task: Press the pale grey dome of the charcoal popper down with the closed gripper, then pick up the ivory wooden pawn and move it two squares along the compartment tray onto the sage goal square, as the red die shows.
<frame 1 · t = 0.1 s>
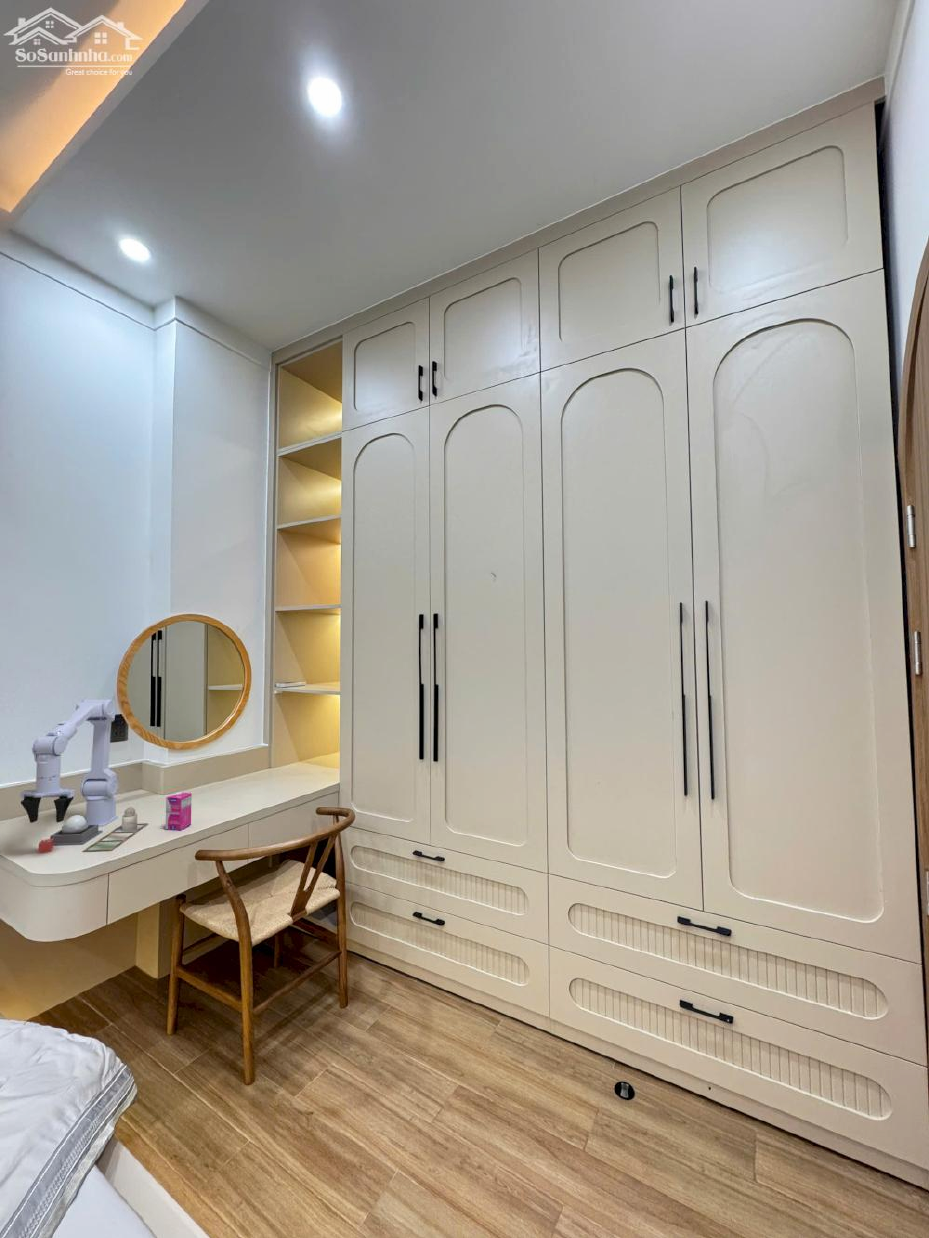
hand: (47, 821, 158), 10 cm above the table, tool pointing down, fingers open, 7 cm apart
popper base: (74, 839, 170), on the table
dome: (75, 824, 171), point 5 cm above the table, slide at 0.0 cm
supplement box: (178, 828, 181), on the table
red die: (46, 850, 161), on the table
compartment tray: (117, 837, 172), on the table
pawn: (129, 828, 179), resting on compartment tray
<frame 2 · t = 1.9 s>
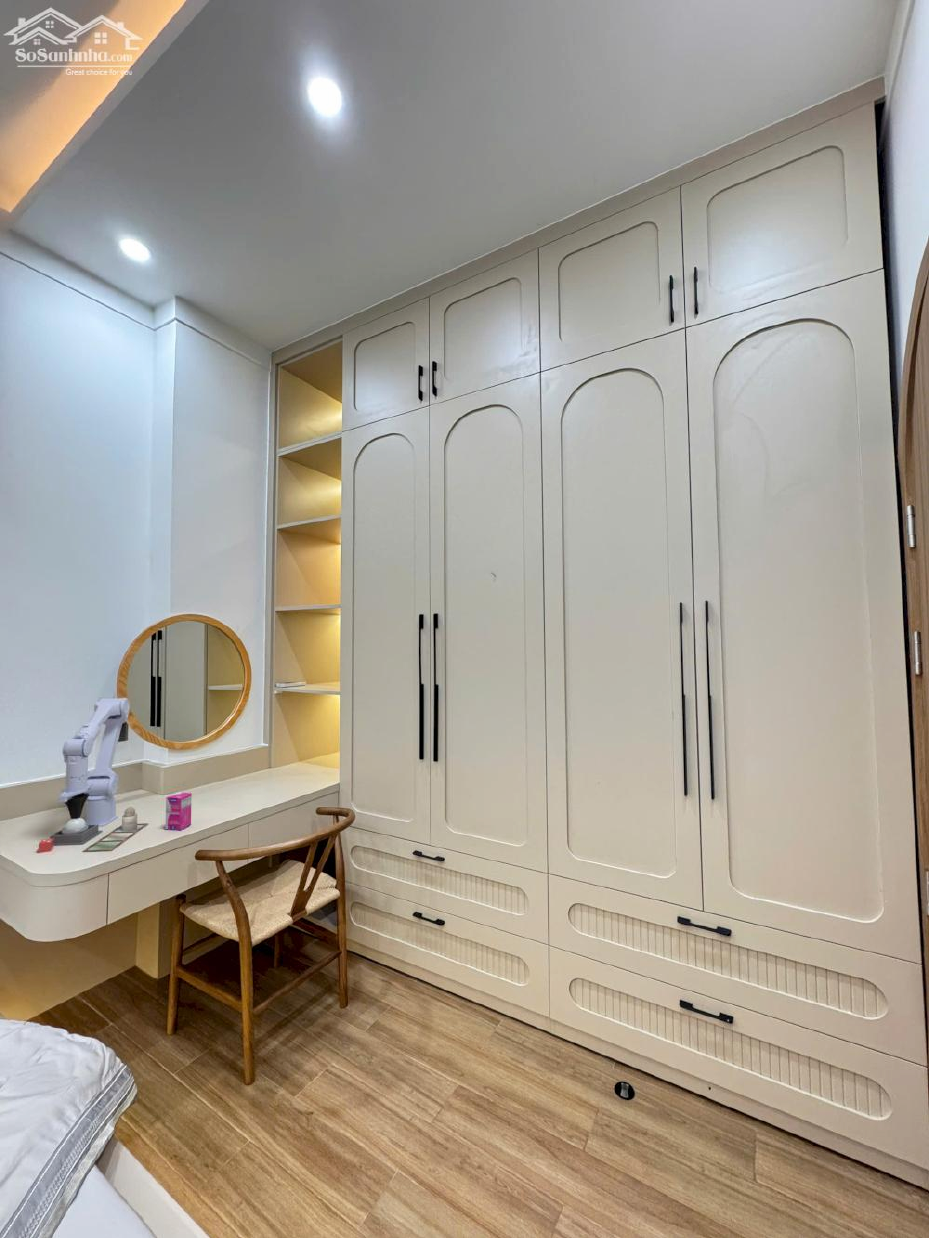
hand: (75, 818, 171), 7 cm above the table, tool pointing down, fingers closed, pressing on dome
dome: (75, 826, 171), point 4 cm above the table, slide at 0.7 cm, touching gripper
everything else where it was.
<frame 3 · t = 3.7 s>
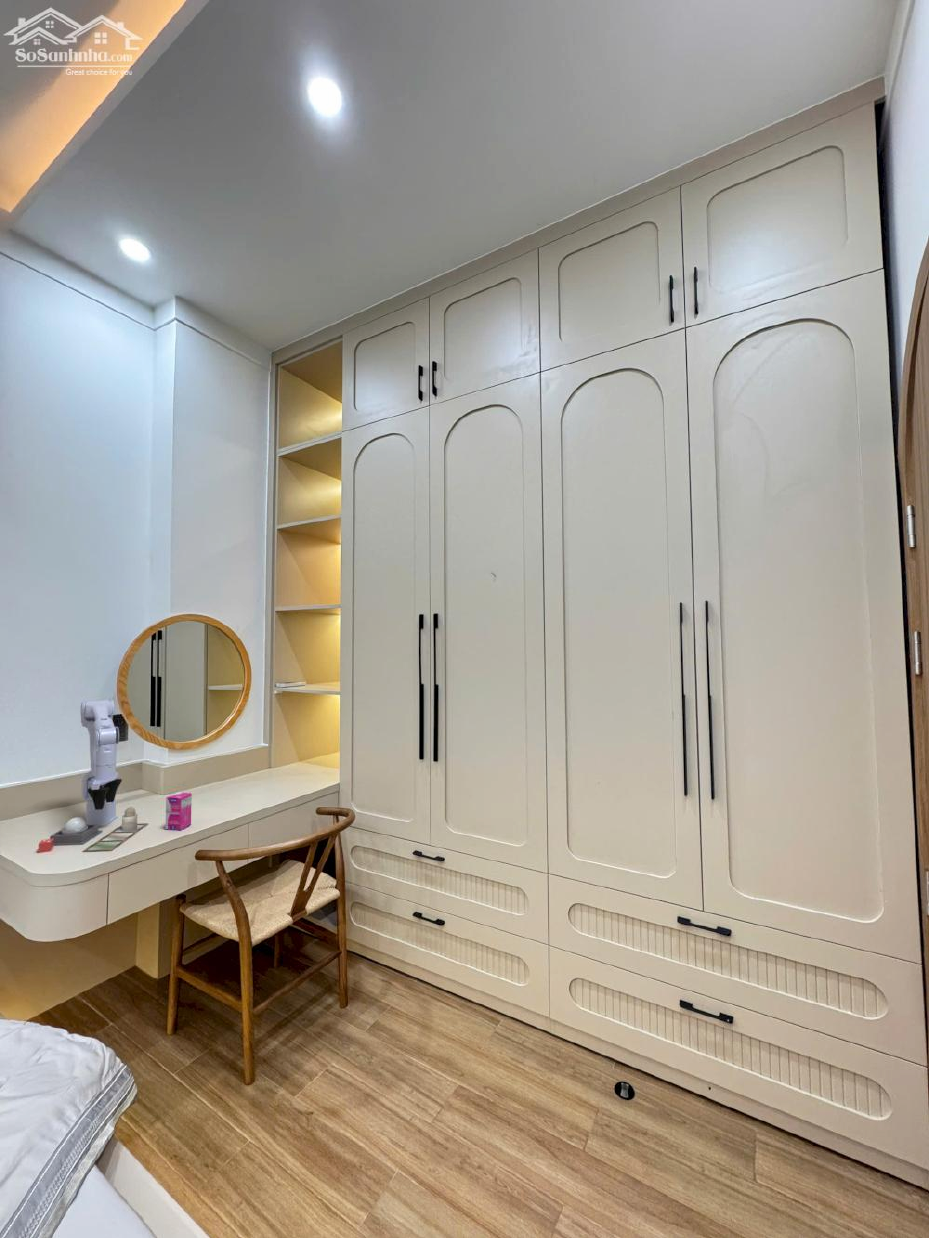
hand: (104, 805, 175), 9 cm above the table, tool pointing down, fingers open, 7 cm apart
dome: (75, 826, 171), point 4 cm above the table, slide at 0.7 cm
everything else where it was.
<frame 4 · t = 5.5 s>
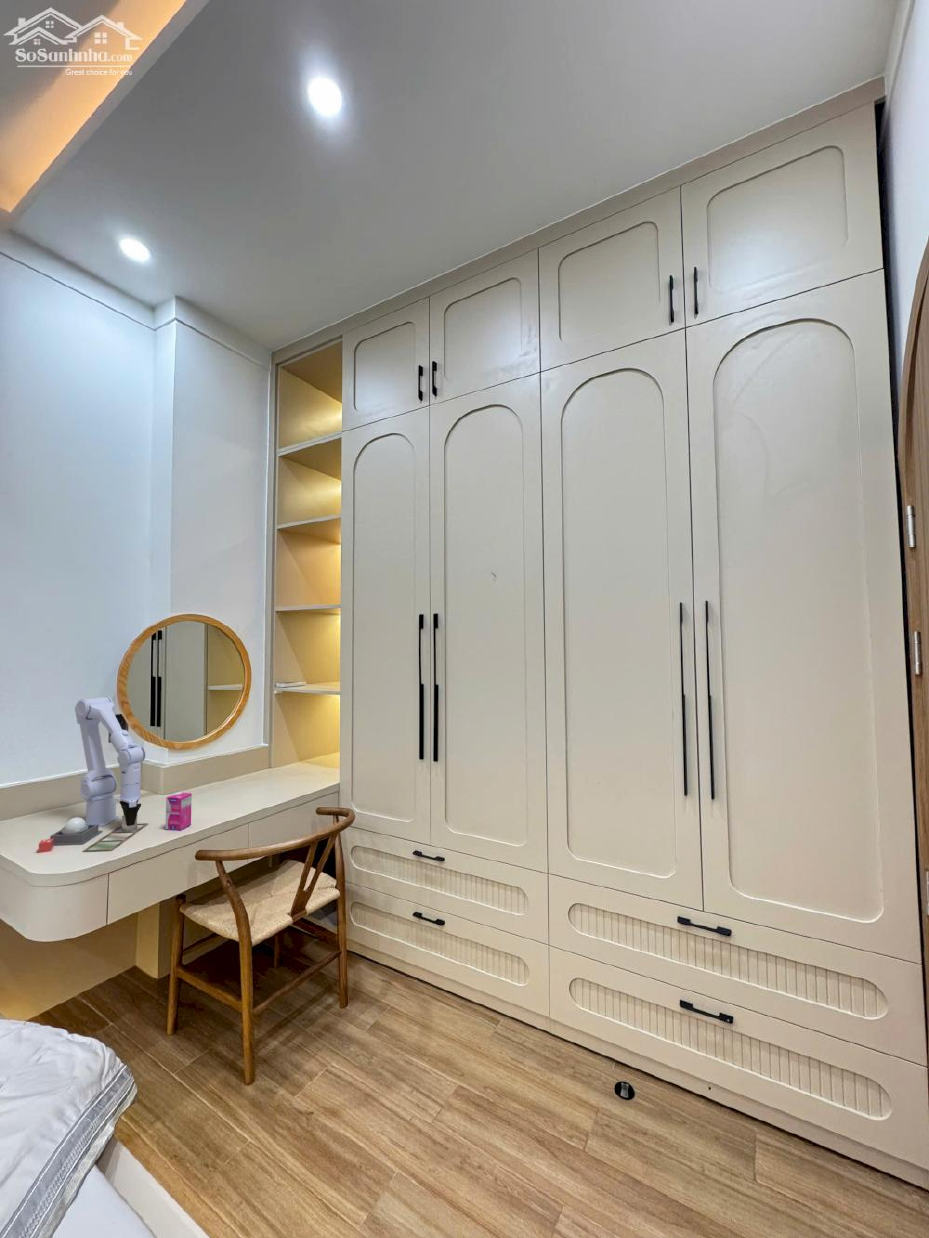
hand: (129, 823, 179), 2 cm above the table, tool pointing down, fingers closed on pawn, 4 cm apart
pawn: (129, 828, 179), resting on compartment tray, touching gripper
everything else where it was.
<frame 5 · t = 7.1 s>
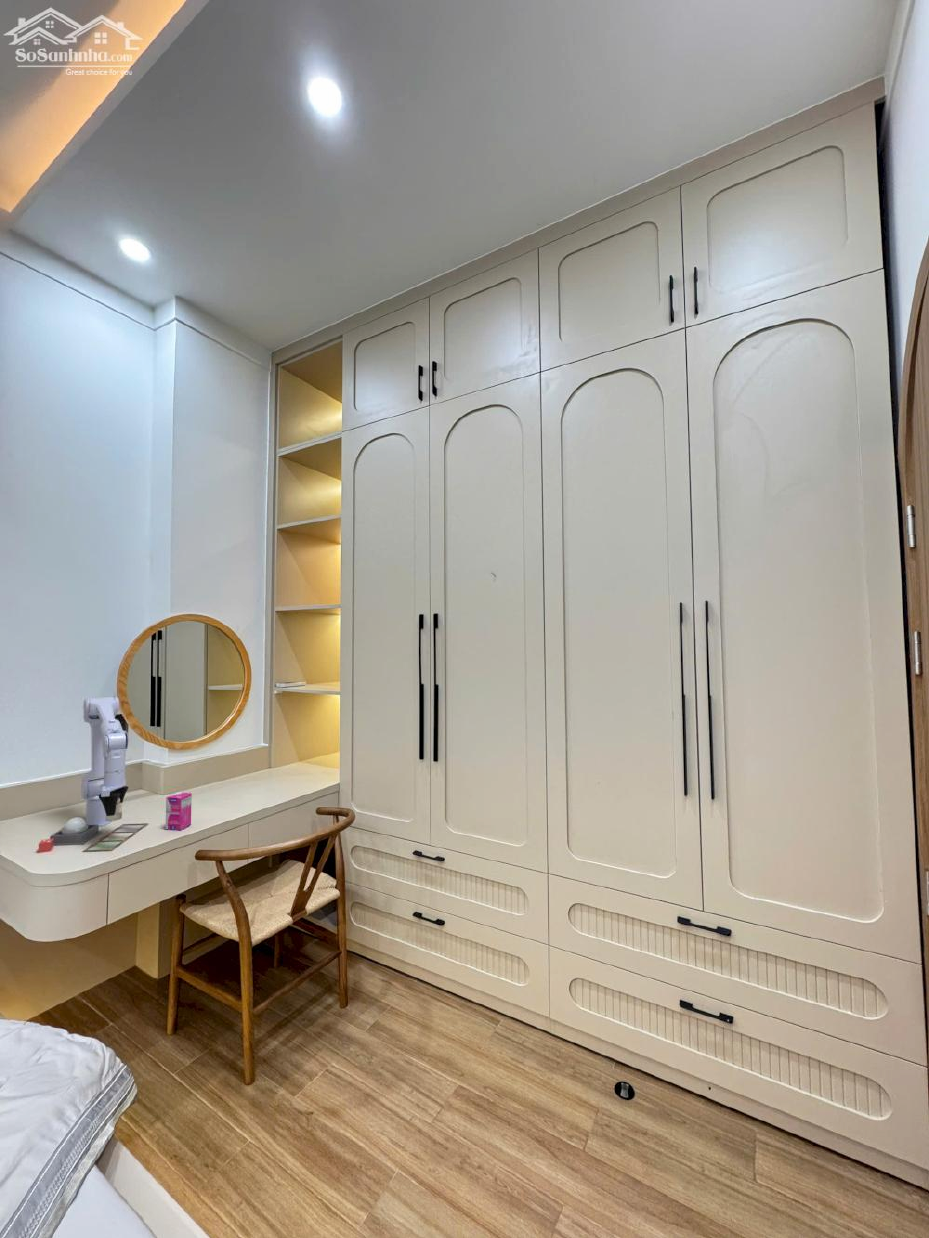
hand: (113, 813, 169), 9 cm above the table, tool pointing down, fingers closed on pawn, 4 cm apart
pawn: (113, 818, 169), point 7 cm above the table, touching gripper
everything else where it was.
when the fingers open (4 cm above the table, at t = 8.9 s): pawn drops 2 cm, resting on compartment tray.
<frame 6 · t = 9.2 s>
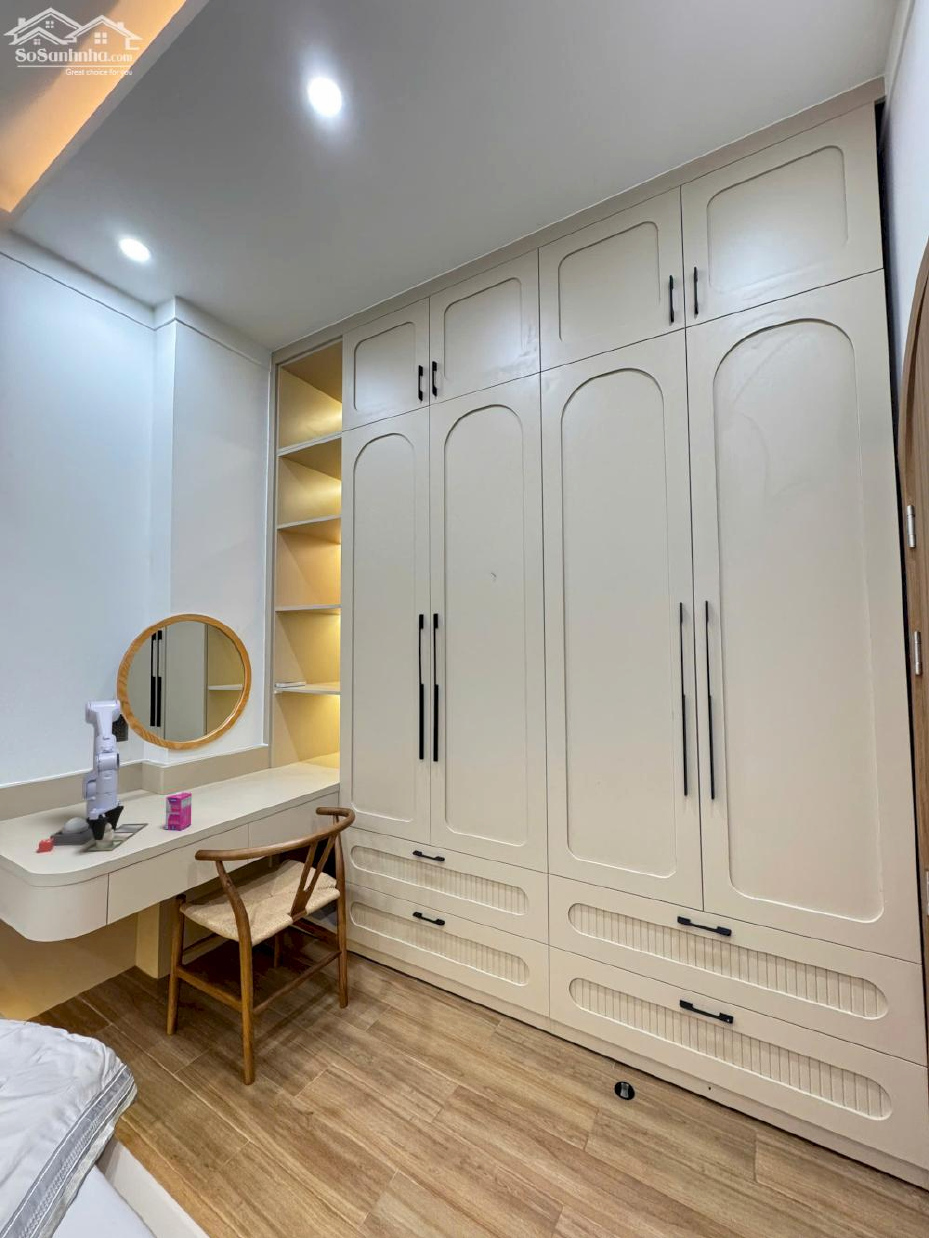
hand: (105, 835, 165), 4 cm above the table, tool pointing down, fingers open, 7 cm apart
pawn: (105, 846, 164), resting on compartment tray
everything else where it was.
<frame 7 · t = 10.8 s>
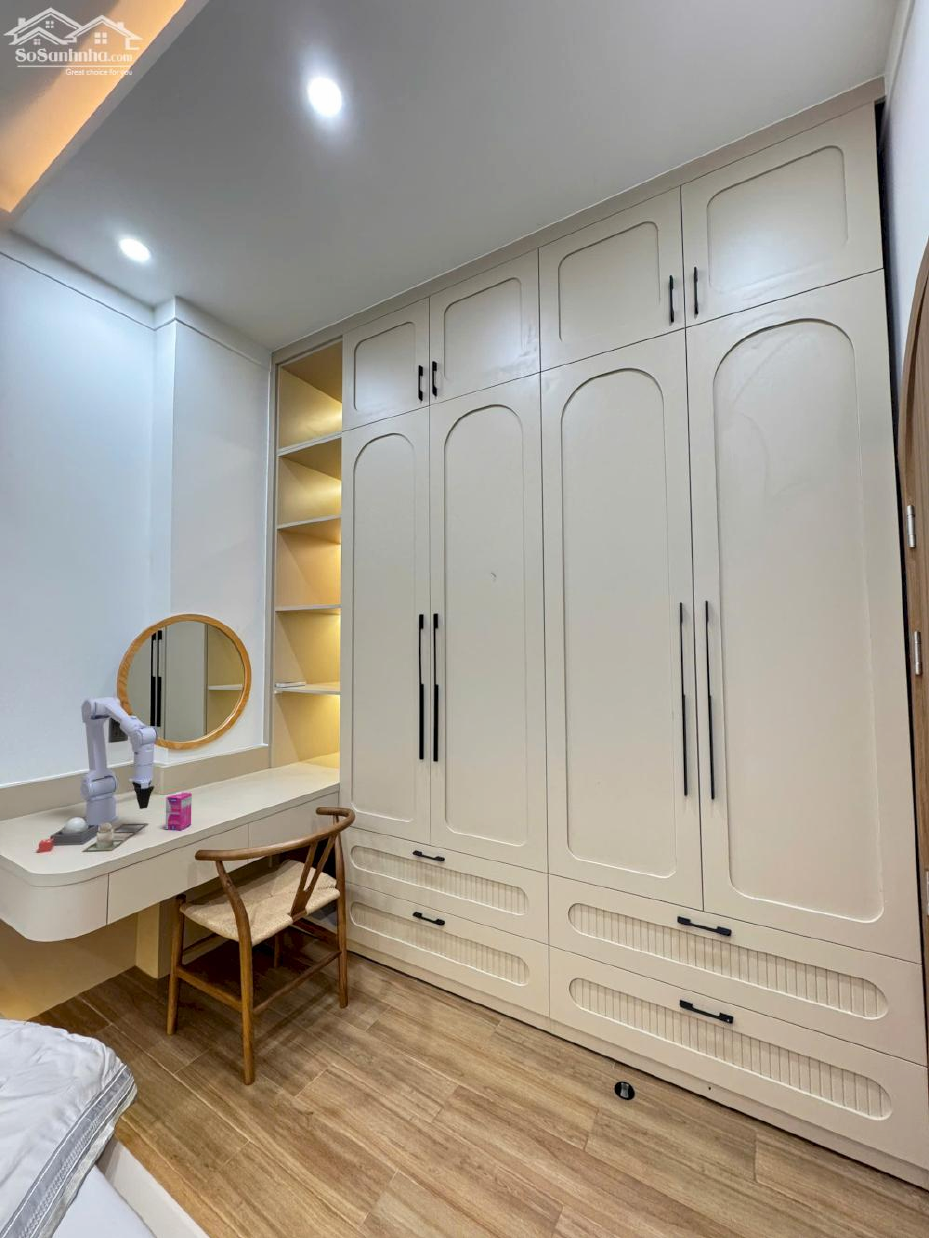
hand: (142, 805, 176), 9 cm above the table, tool pointing down, fingers open, 7 cm apart
nothing on the table moved.
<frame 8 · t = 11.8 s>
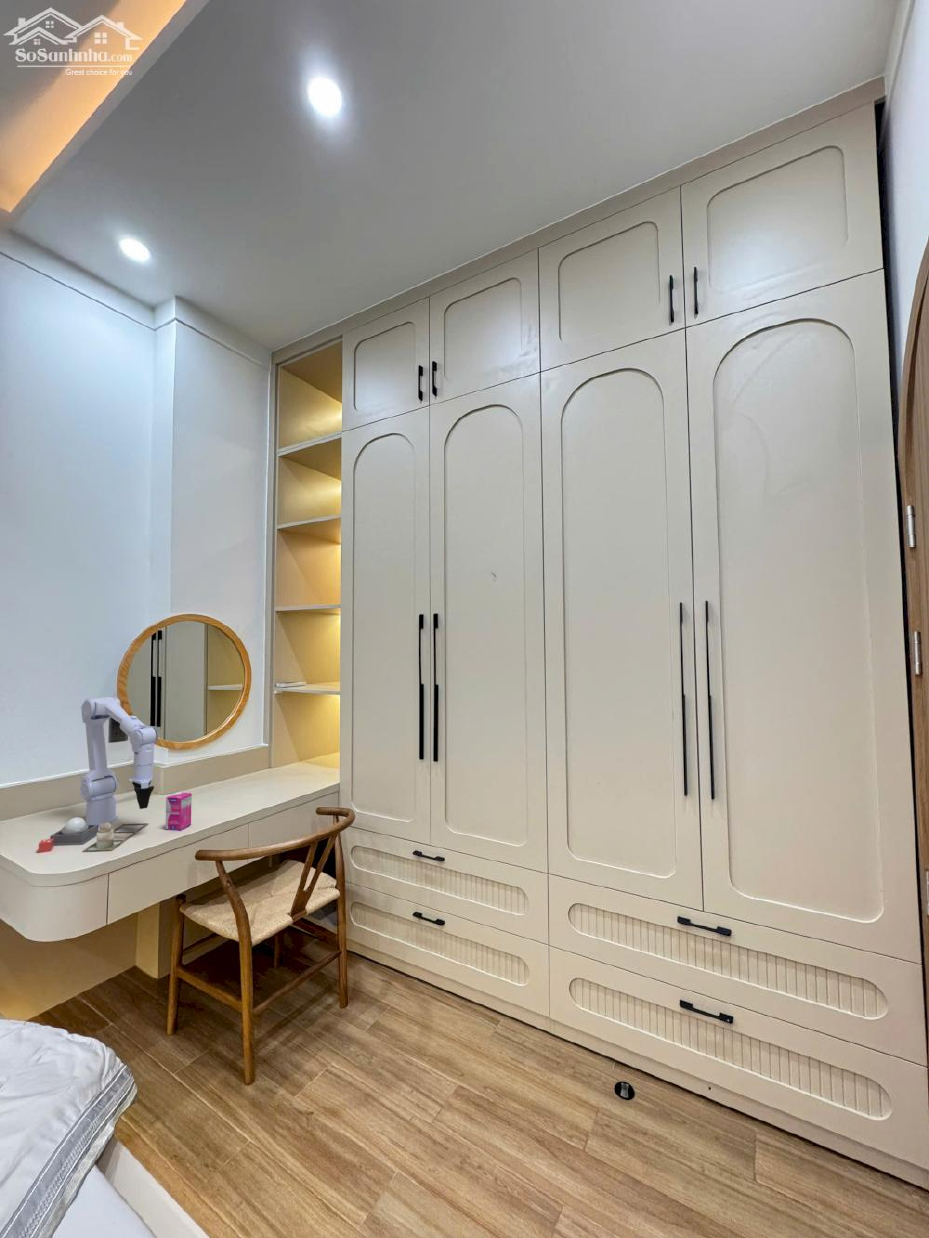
hand: (142, 805, 176), 9 cm above the table, tool pointing down, fingers open, 7 cm apart
nothing on the table moved.
at the end: pawn 0.1 cm from the target spot, resting on compartment tray; pawn tilted 1°; dome slide at 0.7 cm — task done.
